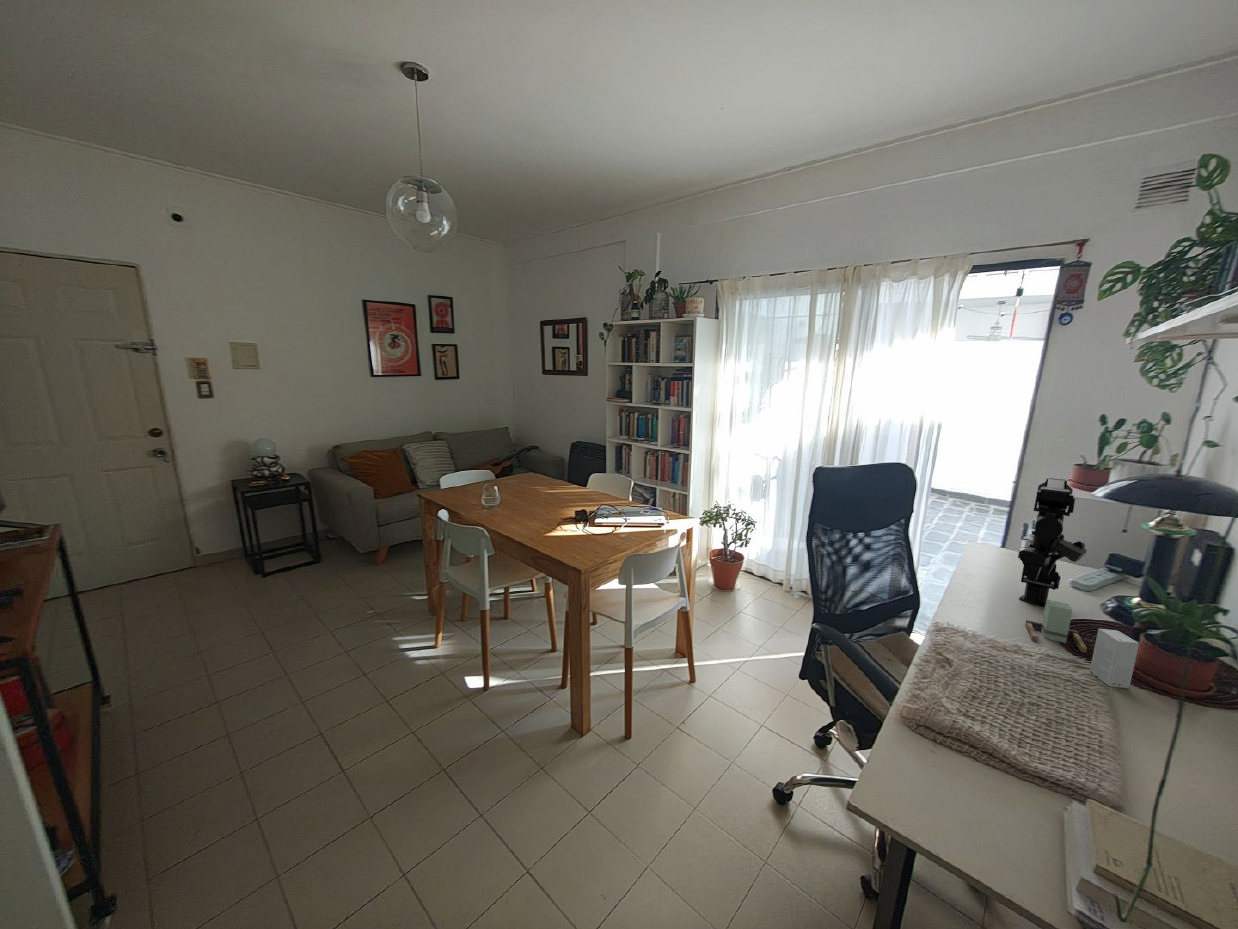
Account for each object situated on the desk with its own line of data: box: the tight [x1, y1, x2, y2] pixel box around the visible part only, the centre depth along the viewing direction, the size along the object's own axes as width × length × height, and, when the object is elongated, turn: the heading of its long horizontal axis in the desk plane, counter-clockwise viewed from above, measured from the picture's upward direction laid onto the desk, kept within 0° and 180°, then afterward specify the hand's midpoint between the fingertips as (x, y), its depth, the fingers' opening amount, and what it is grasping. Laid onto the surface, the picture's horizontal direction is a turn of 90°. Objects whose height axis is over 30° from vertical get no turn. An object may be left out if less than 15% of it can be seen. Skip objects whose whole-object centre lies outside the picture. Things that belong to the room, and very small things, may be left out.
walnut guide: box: [1025, 619, 1088, 654], centre depth 127 cm, size 10×11×2 cm
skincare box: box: [1089, 628, 1140, 689], centre depth 108 cm, size 6×4×12 cm
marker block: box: [1040, 599, 1073, 644], centre depth 127 cm, size 5×5×10 cm
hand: (1039, 578), depth 137 cm, fingers open, 9 cm apart
